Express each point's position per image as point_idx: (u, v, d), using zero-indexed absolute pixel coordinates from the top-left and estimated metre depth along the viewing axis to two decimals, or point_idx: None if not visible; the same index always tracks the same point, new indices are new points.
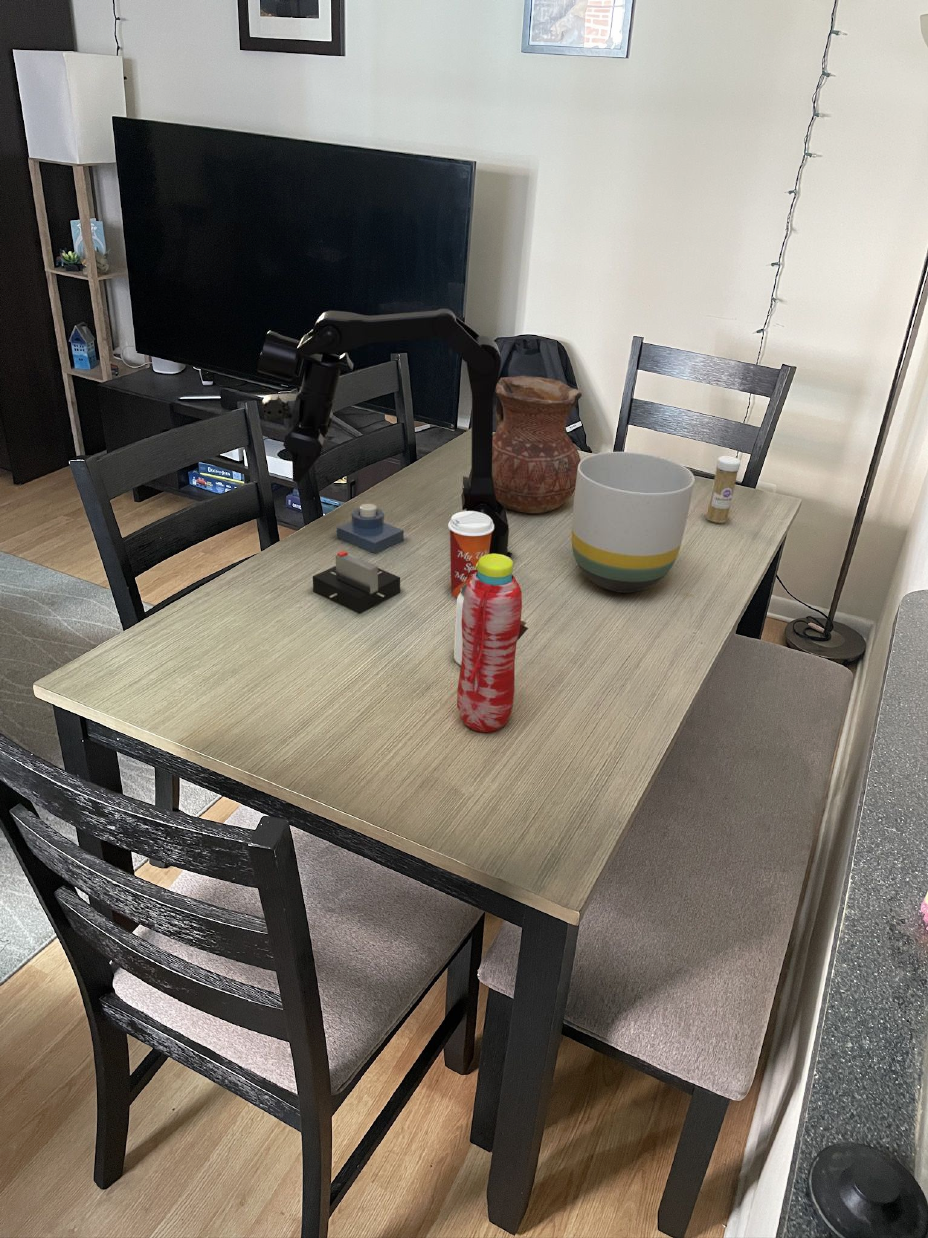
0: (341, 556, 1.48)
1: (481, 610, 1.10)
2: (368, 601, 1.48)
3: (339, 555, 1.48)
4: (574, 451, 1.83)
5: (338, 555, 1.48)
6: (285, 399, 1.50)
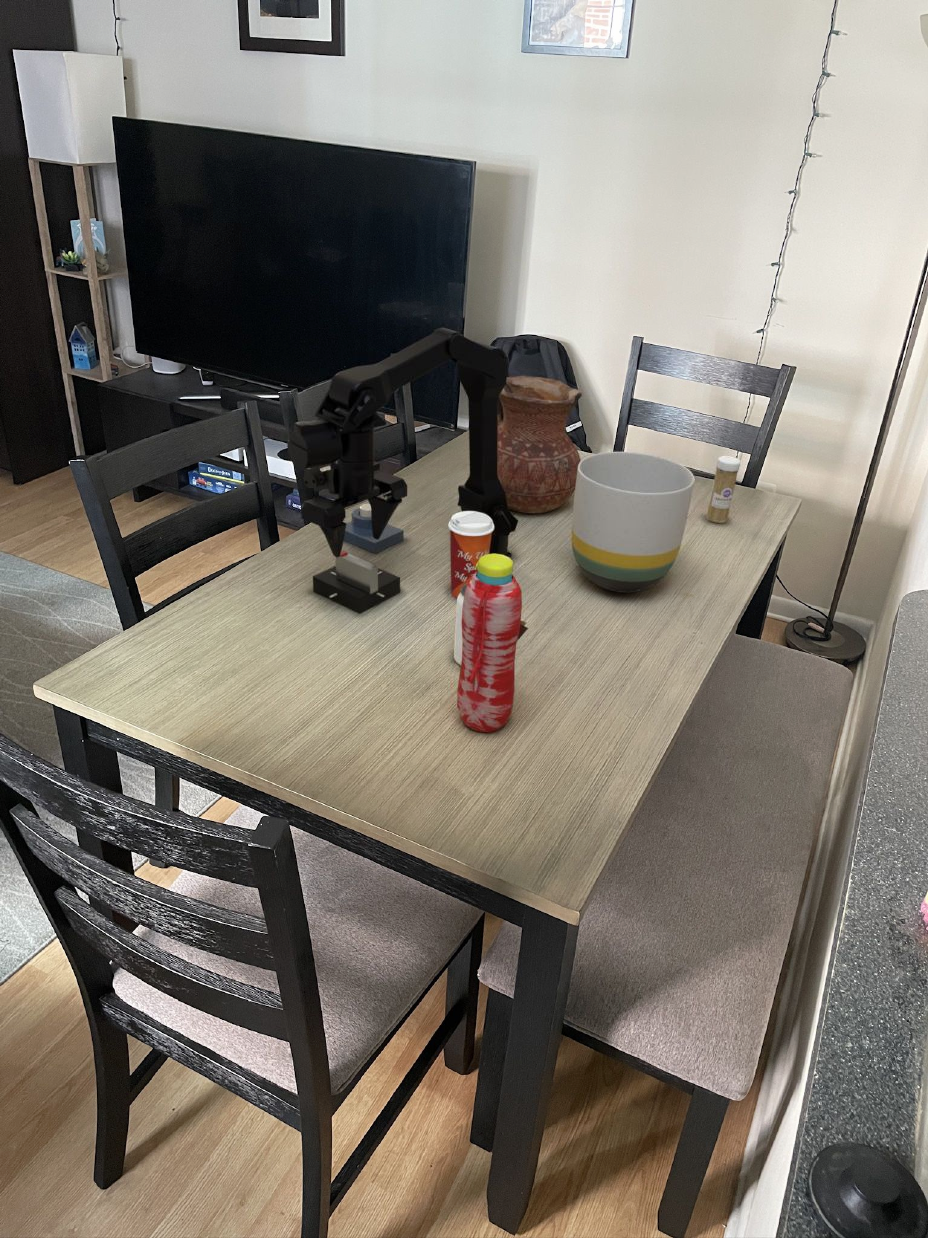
0: (341, 556, 1.48)
1: (481, 610, 1.10)
2: (368, 601, 1.48)
3: None
4: (574, 451, 1.83)
5: None
6: (328, 469, 1.41)
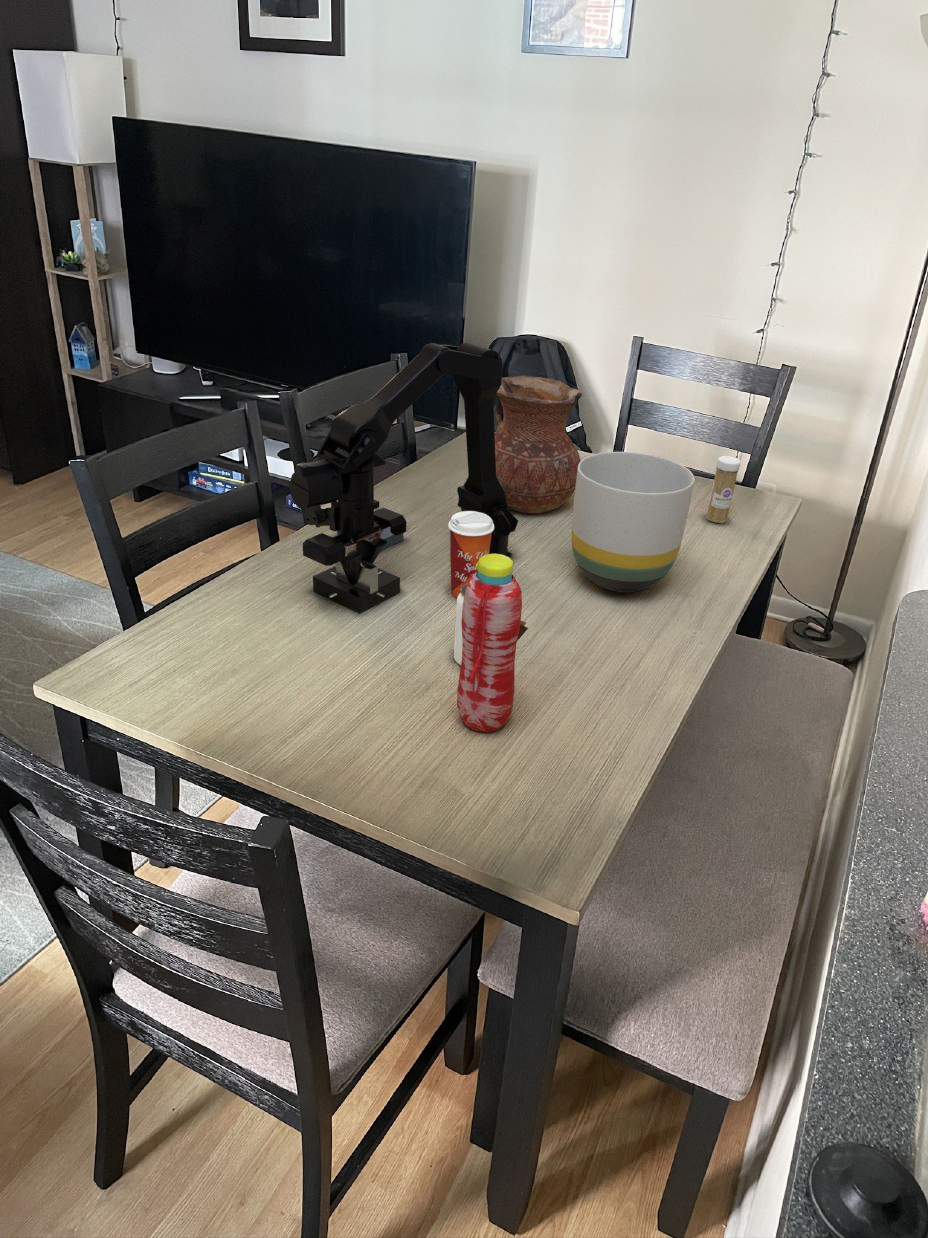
0: None
1: (481, 610, 1.10)
2: (368, 601, 1.48)
3: None
4: (574, 451, 1.83)
5: None
6: (329, 506, 1.44)
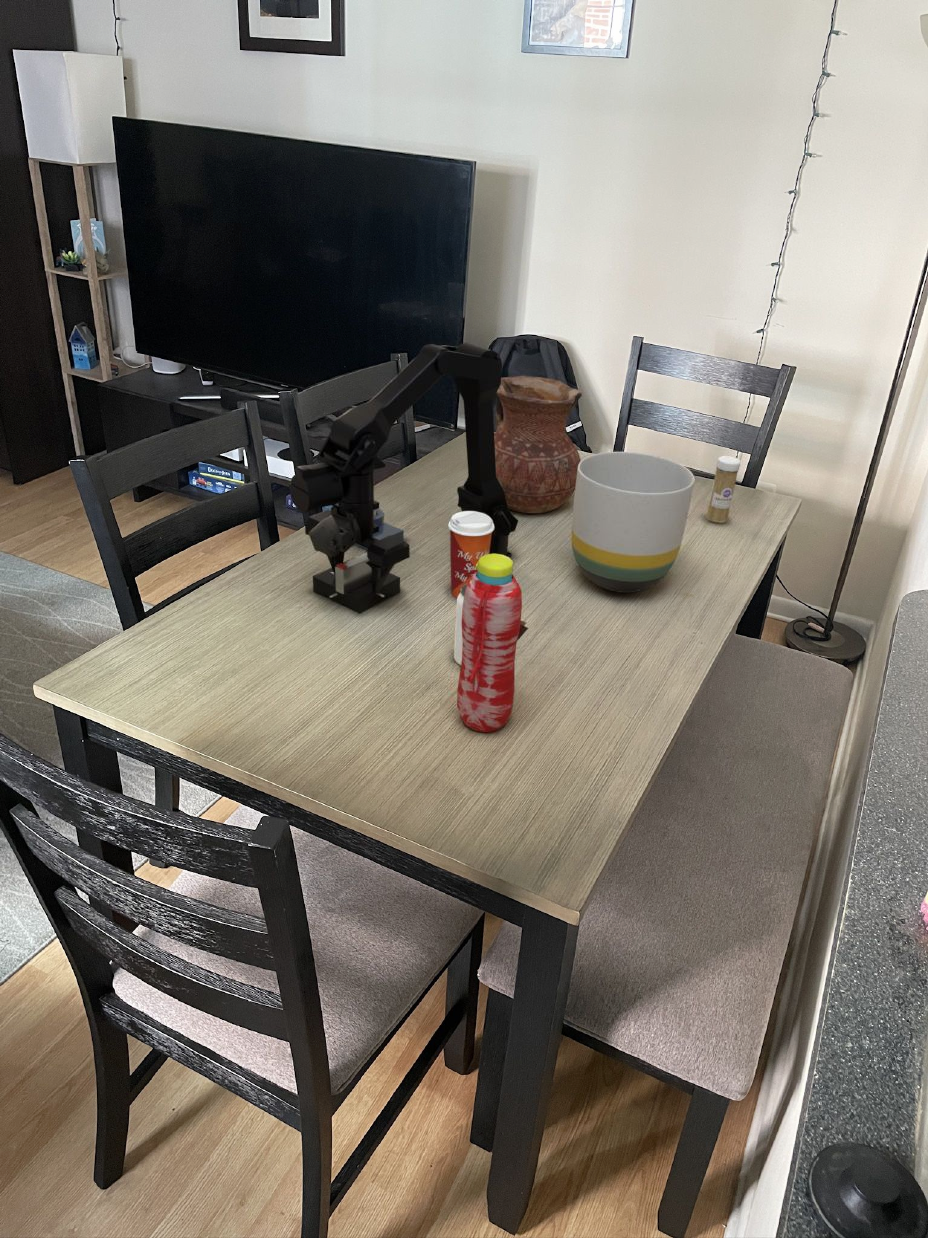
0: (347, 567, 1.44)
1: (481, 610, 1.10)
2: (368, 601, 1.48)
3: (346, 567, 1.44)
4: (574, 451, 1.83)
5: (345, 568, 1.44)
6: (338, 526, 1.39)
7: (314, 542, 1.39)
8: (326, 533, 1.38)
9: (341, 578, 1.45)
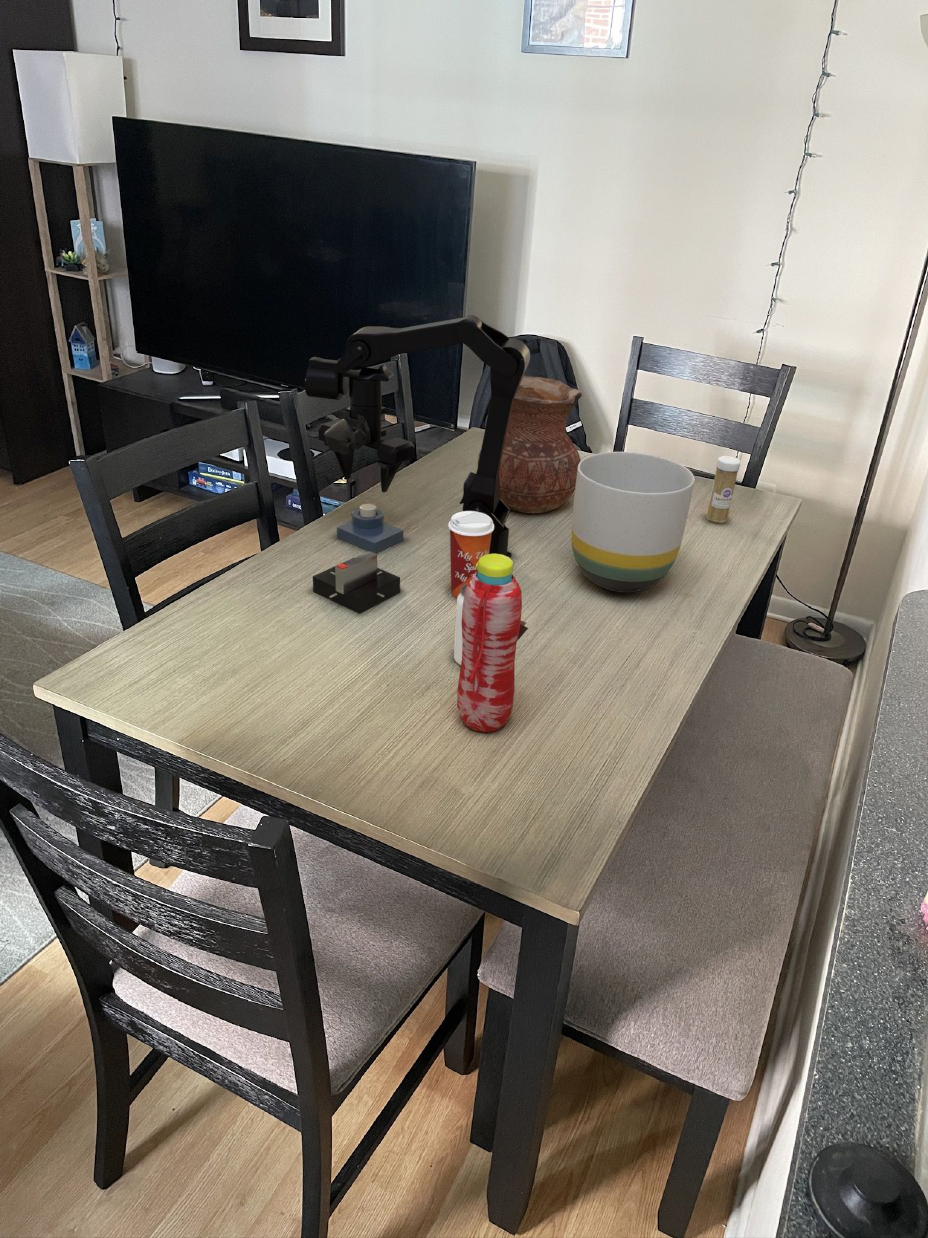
0: (347, 567, 1.44)
1: (481, 610, 1.10)
2: (368, 601, 1.48)
3: (346, 567, 1.44)
4: (574, 451, 1.83)
5: (345, 568, 1.44)
6: (351, 427, 1.55)
7: (329, 441, 1.55)
8: (340, 433, 1.54)
9: (341, 578, 1.45)
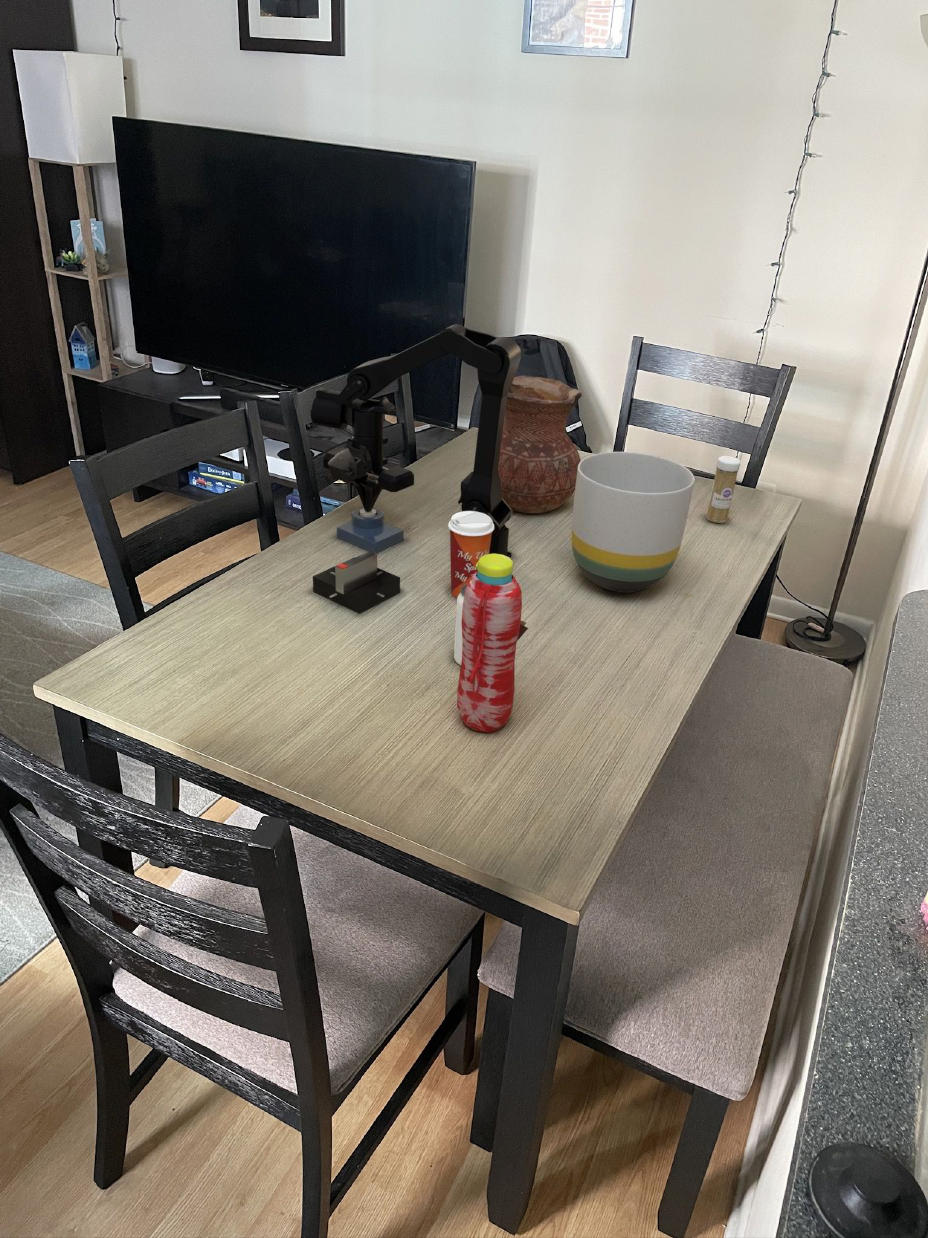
0: (347, 567, 1.44)
1: (481, 610, 1.10)
2: (368, 601, 1.48)
3: (346, 567, 1.44)
4: (574, 451, 1.83)
5: (345, 568, 1.44)
6: (353, 456, 1.62)
7: (332, 470, 1.62)
8: (343, 462, 1.61)
9: (341, 578, 1.45)
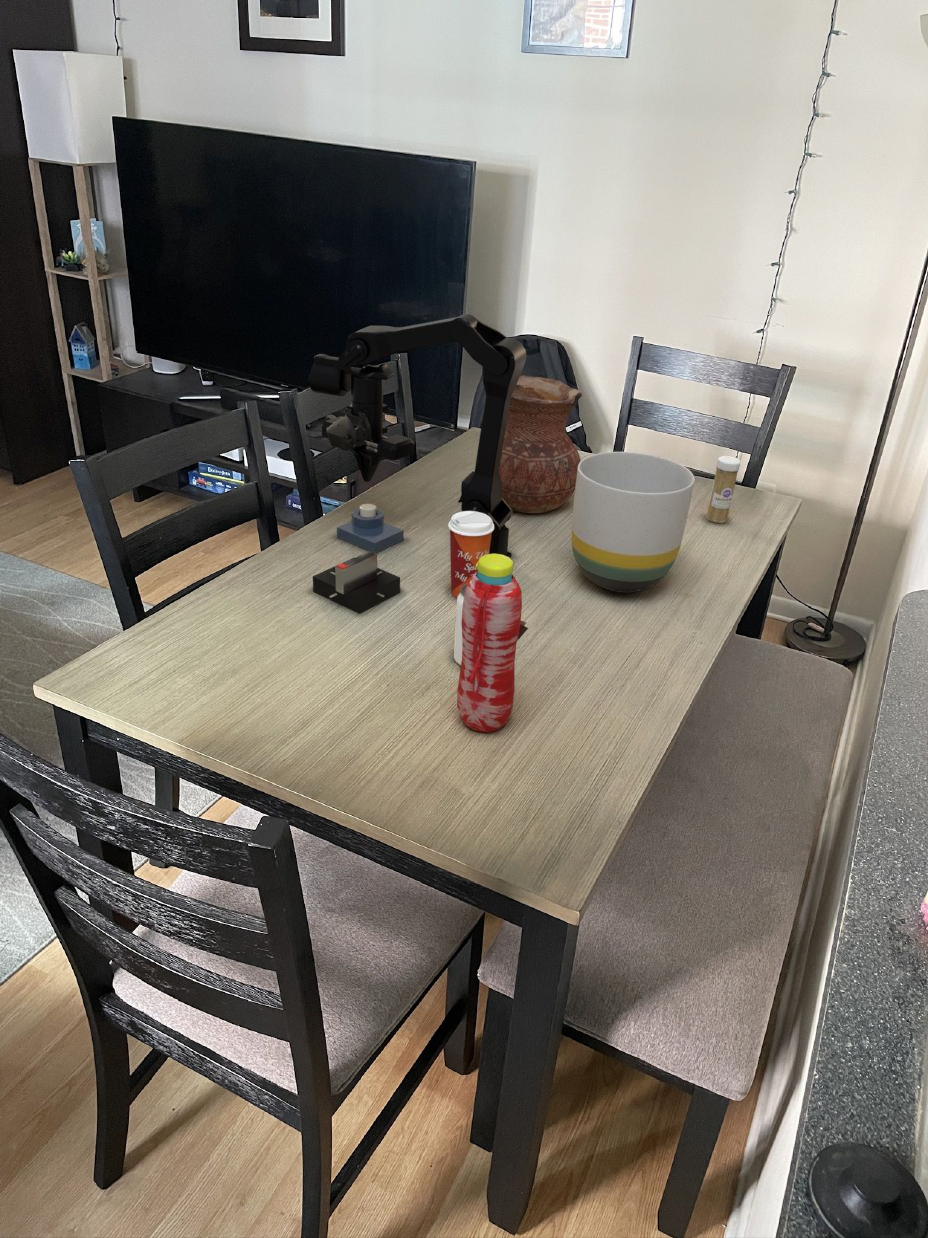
0: (347, 567, 1.44)
1: (481, 610, 1.10)
2: (368, 601, 1.48)
3: (346, 567, 1.44)
4: (574, 451, 1.83)
5: (345, 568, 1.44)
6: (352, 423, 1.59)
7: (331, 438, 1.59)
8: (341, 429, 1.58)
9: (341, 578, 1.45)
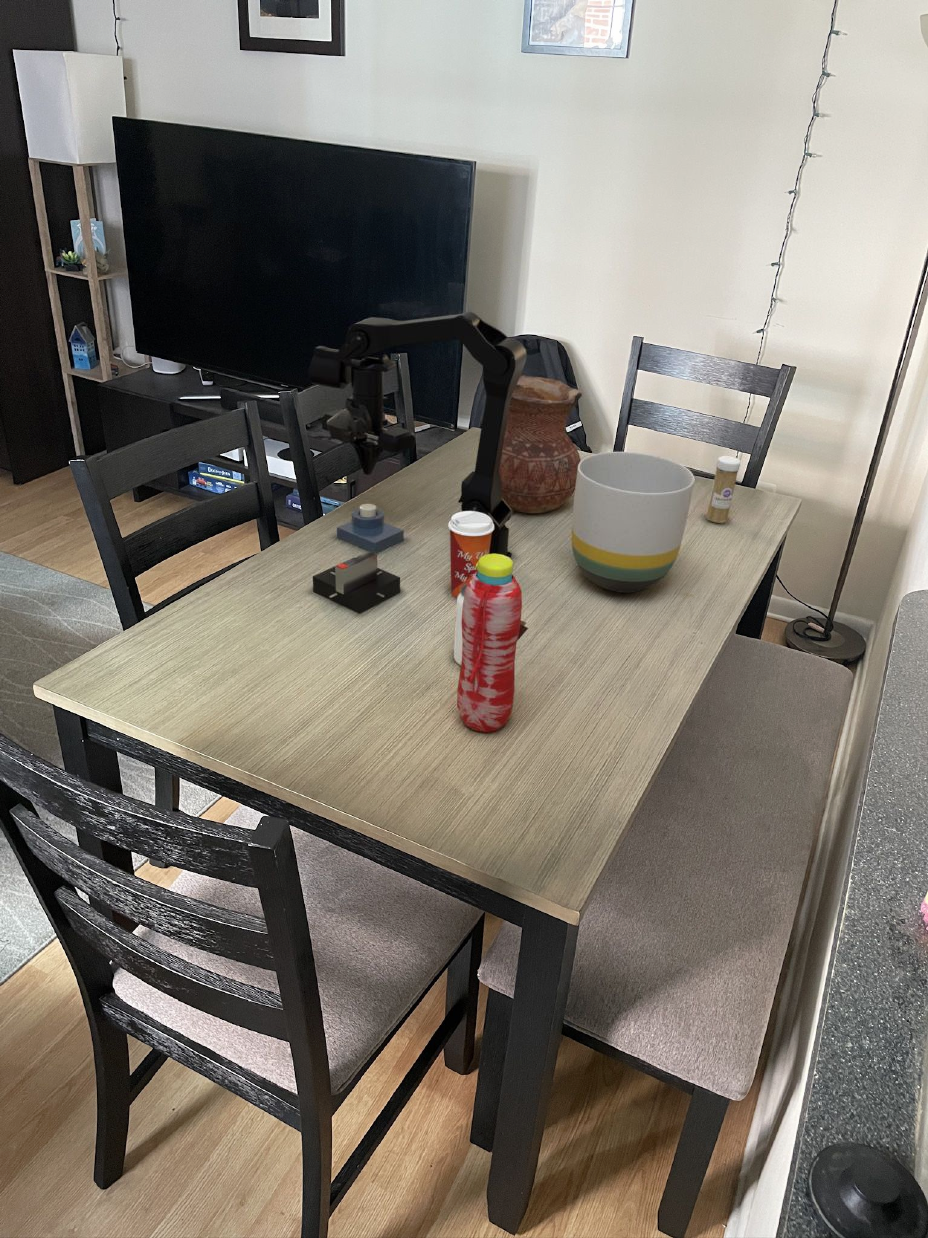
0: (347, 567, 1.44)
1: (481, 610, 1.10)
2: (368, 601, 1.48)
3: (346, 567, 1.44)
4: (574, 451, 1.83)
5: (345, 568, 1.44)
6: (352, 416, 1.58)
7: (331, 430, 1.58)
8: (342, 422, 1.57)
9: (341, 578, 1.45)
